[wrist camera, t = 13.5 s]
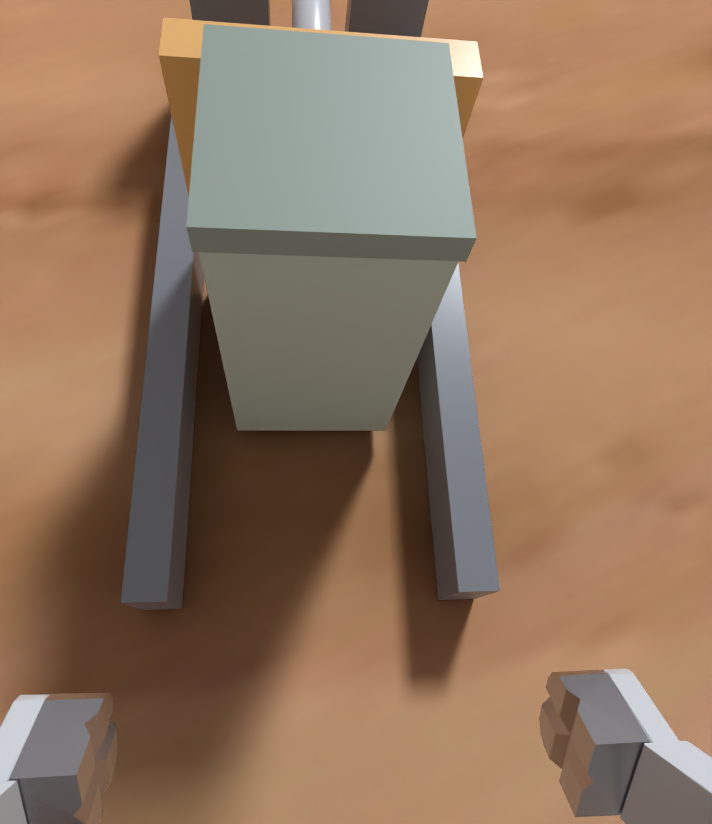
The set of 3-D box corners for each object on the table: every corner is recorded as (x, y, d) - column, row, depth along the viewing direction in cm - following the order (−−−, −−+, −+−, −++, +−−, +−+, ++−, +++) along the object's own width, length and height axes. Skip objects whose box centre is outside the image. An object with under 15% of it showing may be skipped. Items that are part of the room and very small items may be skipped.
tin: (388, 433, 20) (476, 238, 11) (234, 433, 20) (186, 226, 10) (380, 303, 22) (449, 42, 13) (239, 299, 22) (203, 24, 12)
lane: (474, 598, 19) (568, 568, 13) (141, 610, 18) (62, 582, 12) (416, 79, 28) (455, -92, 22) (191, 64, 27) (161, -122, 21)
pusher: (404, 311, 23) (483, 77, 14) (211, 307, 22) (158, 55, 13) (379, 13, 29) (421, -283, 20) (229, 1, 28) (203, -313, 19)
